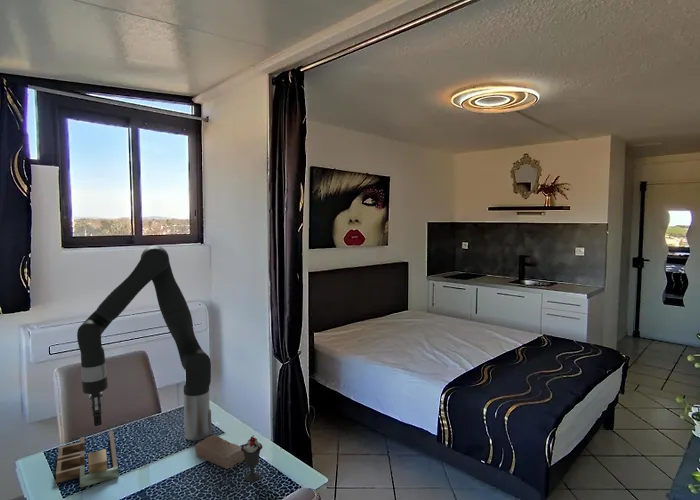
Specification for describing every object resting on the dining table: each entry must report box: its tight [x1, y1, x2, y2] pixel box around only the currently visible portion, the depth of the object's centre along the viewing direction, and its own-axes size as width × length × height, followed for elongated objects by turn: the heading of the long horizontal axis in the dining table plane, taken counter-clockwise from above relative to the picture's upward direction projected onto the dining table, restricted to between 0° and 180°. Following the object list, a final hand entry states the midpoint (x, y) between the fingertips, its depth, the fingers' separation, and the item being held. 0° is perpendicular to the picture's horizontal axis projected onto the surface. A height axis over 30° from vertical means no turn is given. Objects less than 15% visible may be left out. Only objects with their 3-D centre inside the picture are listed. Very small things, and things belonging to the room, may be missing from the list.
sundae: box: [241, 435, 263, 483], centre depth 138 cm, size 7×7×15 cm
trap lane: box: [55, 430, 119, 488], centre depth 145 cm, size 17×29×3 cm, turn 32°
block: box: [87, 448, 108, 474], centre depth 139 cm, size 5×8×6 cm, turn 32°
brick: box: [195, 434, 245, 470], centre depth 150 cm, size 17×8×5 cm, turn 58°
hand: (98, 424), depth 149 cm, fingers closed
